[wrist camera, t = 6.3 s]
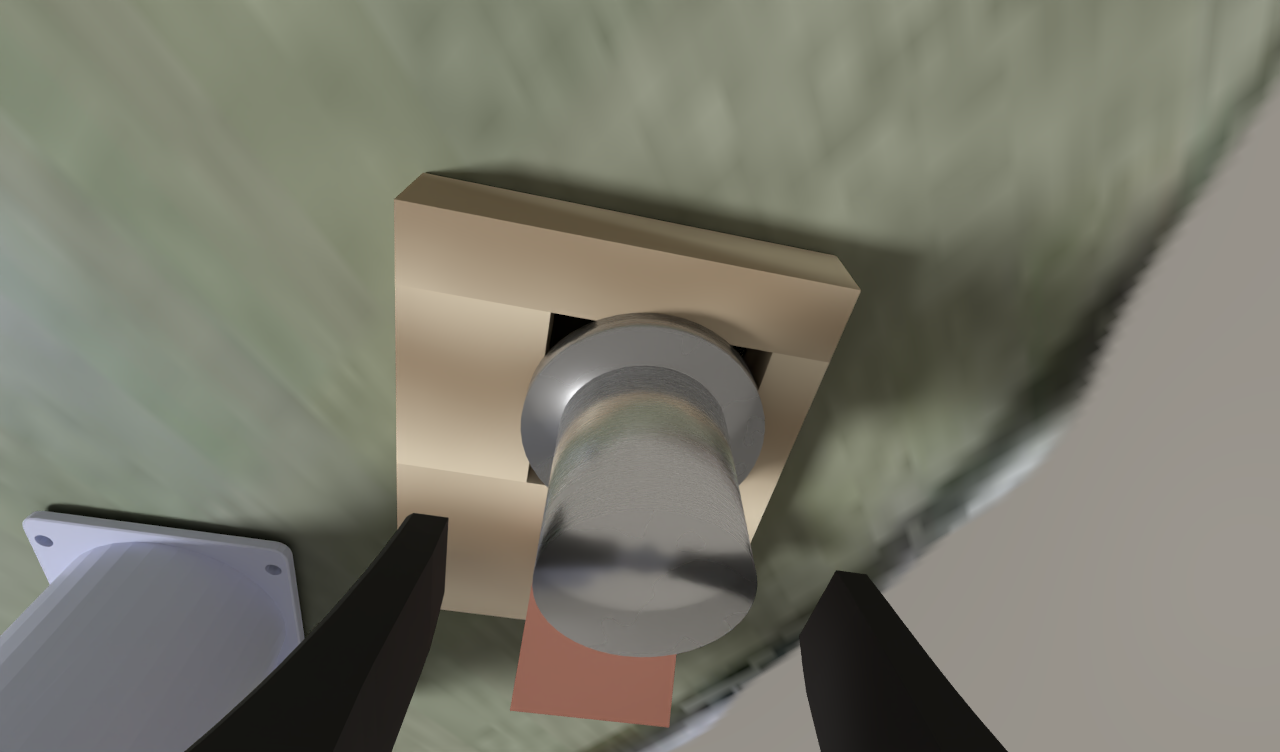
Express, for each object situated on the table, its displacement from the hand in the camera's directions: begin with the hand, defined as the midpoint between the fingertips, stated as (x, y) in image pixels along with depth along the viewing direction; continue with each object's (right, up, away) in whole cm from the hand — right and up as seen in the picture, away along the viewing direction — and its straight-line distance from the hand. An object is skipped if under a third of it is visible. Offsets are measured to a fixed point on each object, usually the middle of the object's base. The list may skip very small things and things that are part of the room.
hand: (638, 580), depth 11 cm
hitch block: (-1, +2, +7) cm, 7 cm away
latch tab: (-1, -3, +5) cm, 6 cm away
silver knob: (0, +4, +5) cm, 7 cm away
